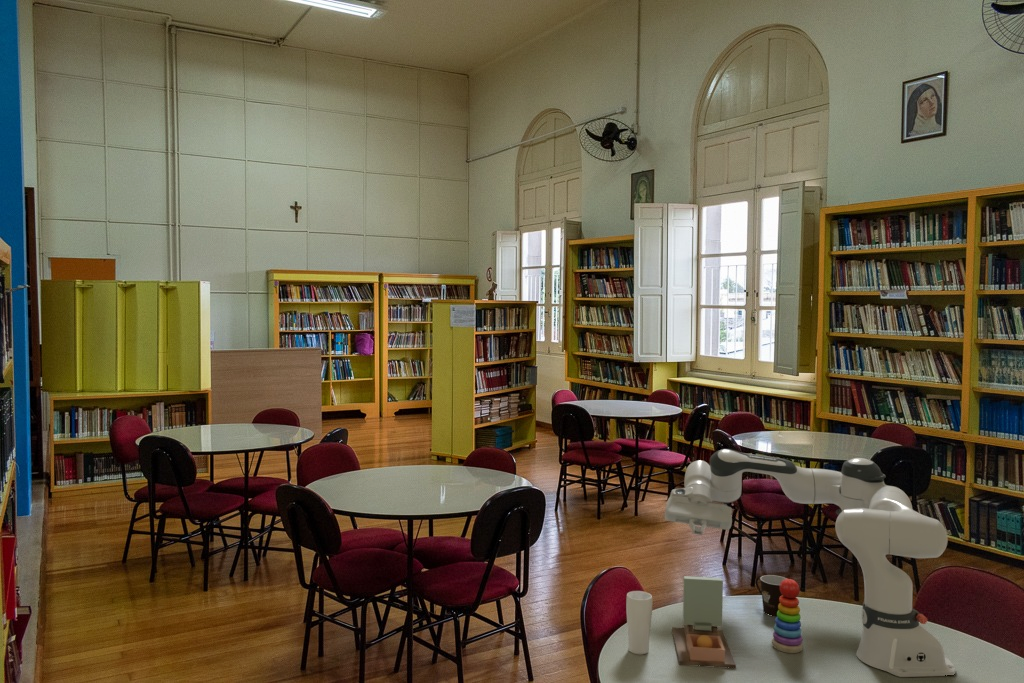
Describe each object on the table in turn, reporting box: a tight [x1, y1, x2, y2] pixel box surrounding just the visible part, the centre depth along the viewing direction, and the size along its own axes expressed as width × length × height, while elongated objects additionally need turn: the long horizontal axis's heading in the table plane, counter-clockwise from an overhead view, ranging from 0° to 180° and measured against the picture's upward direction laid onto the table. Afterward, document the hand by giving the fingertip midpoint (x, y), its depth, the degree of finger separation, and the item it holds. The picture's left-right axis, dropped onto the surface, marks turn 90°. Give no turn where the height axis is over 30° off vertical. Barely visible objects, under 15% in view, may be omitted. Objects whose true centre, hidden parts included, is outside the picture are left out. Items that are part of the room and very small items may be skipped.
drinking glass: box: [625, 590, 653, 656], centre depth 195 cm, size 7×7×15 cm
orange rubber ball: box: [697, 635, 713, 648], centre depth 193 cm, size 4×4×4 cm
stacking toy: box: [771, 578, 804, 654], centre depth 198 cm, size 8×8×19 cm
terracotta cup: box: [686, 634, 725, 664], centre depth 191 cm, size 9×9×4 cm
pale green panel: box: [682, 575, 724, 631], centre depth 197 cm, size 10×2×14 cm, turn 83°
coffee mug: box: [755, 574, 788, 617], centre depth 224 cm, size 12×9×10 cm
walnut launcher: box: [671, 624, 737, 669], centre depth 197 cm, size 14×21×6 cm, turn 173°
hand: (697, 532), depth 222 cm, fingers closed
